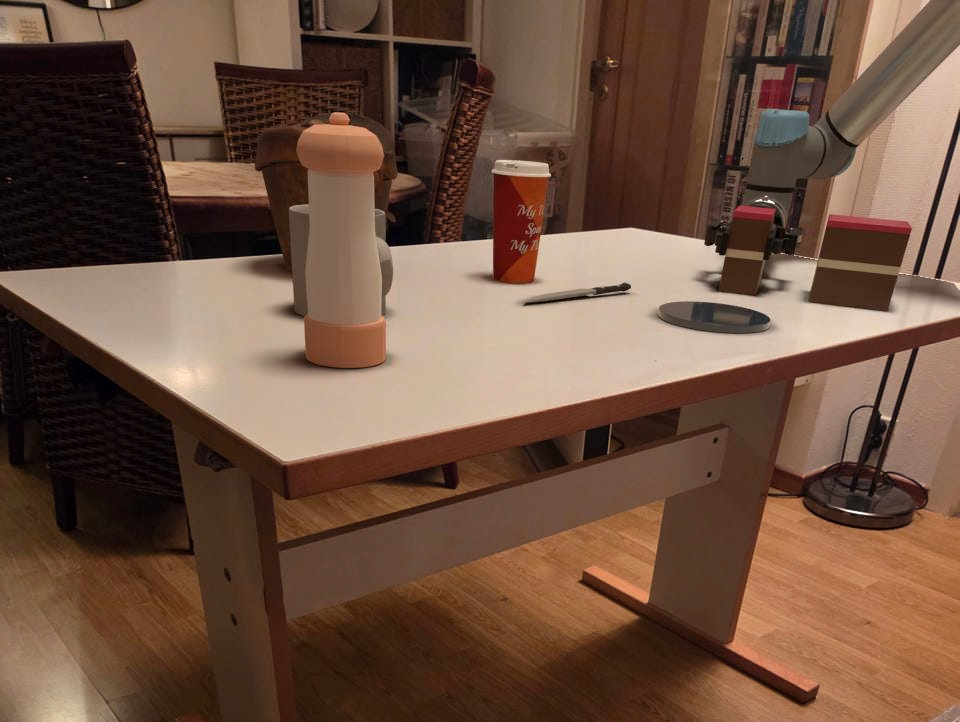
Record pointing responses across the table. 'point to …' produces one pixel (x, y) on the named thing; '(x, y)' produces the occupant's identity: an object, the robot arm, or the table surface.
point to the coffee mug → (300, 247)
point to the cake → (859, 261)
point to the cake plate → (714, 317)
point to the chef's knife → (580, 292)
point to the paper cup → (517, 218)
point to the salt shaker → (342, 246)
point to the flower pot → (291, 178)
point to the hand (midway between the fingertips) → (745, 246)
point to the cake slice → (746, 249)
